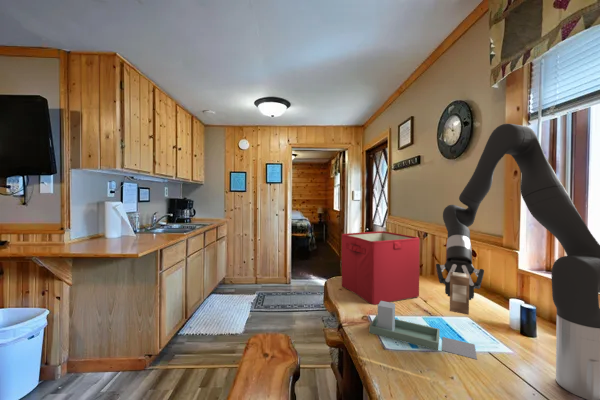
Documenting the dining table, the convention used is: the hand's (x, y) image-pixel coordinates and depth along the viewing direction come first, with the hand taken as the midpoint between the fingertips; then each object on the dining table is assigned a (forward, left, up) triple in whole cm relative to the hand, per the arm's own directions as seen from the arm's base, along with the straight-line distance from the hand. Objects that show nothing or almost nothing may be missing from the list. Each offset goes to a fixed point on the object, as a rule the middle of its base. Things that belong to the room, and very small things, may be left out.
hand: (459, 296), depth 81 cm
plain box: (+14, +17, -17) cm, 28 cm away
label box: (+2, -1, -5) cm, 5 cm away
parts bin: (+11, +12, -17) cm, 23 cm away
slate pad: (+1, -1, -17) cm, 17 cm away
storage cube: (+53, +4, -17) cm, 56 cm away
